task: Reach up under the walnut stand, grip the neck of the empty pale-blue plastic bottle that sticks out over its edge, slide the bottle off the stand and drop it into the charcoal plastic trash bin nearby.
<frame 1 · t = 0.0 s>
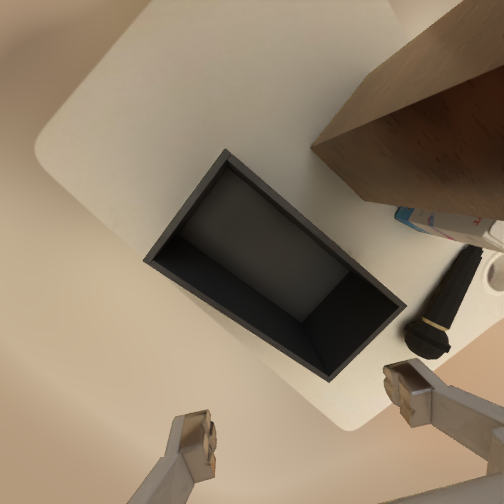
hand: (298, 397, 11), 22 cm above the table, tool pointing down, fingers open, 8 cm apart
bin: (267, 252, 32), on the table
microphone: (440, 291, 36), on the table
ink box: (424, 196, 32), on the table
stand: (367, 141, 29), on the table
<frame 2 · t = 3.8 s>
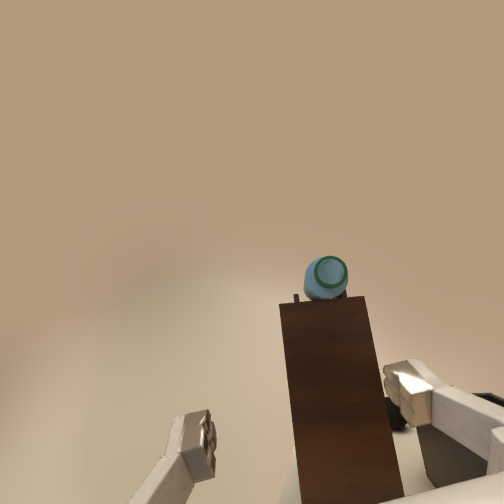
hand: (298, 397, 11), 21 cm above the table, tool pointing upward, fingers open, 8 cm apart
microphone: (362, 432, 49), on the table
bottle: (319, 299, 30), point 26 cm above the table, tilted 17°, touching stand
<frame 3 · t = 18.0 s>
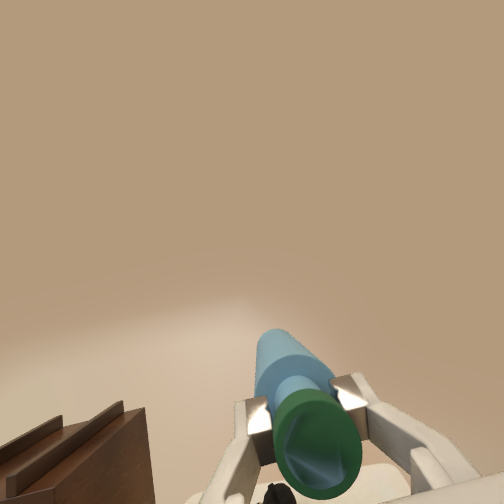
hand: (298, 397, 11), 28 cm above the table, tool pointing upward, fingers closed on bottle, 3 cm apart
bottle: (293, 406, 17), point 25 cm above the table, touching gripper
when the fingers open (19 cm above the table, at t = 20.8 s): bottle drops 16 cm, resting on bin.
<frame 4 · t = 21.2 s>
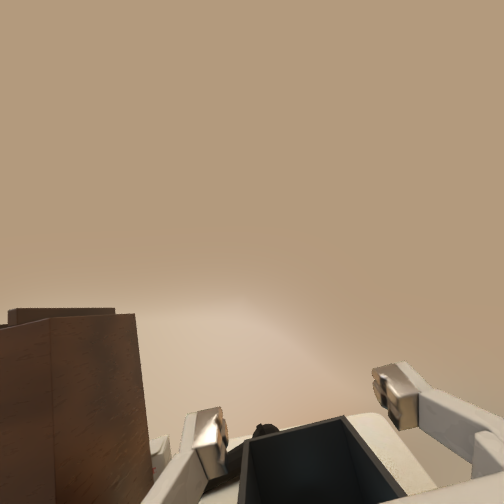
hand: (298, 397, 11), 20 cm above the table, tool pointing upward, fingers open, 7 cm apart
microphone: (227, 480, 37), on the table
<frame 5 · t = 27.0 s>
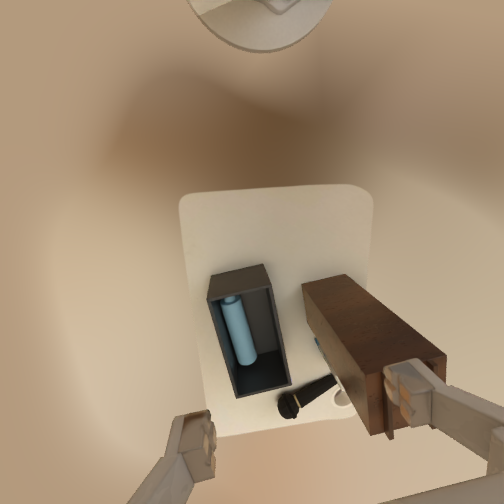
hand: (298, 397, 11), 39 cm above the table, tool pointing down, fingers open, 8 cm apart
bin: (248, 314, 54), on the table
microphone: (311, 386, 61), on the table
bottle: (245, 317, 52), point 2 cm above the table, tilted 68°, touching bin
stand: (325, 298, 54), on the table
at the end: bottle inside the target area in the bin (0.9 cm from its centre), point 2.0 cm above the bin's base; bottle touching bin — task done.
